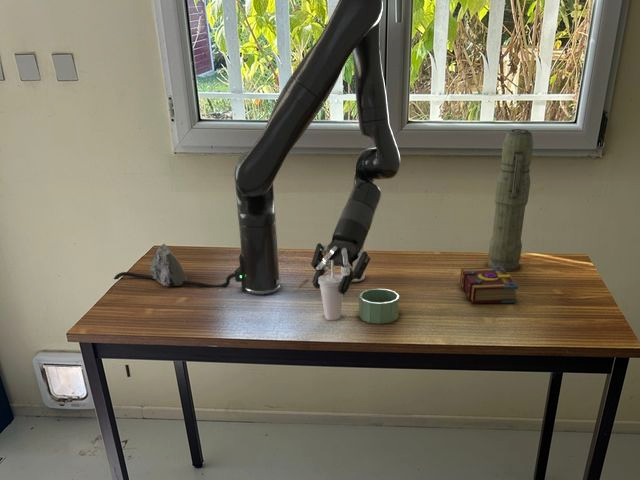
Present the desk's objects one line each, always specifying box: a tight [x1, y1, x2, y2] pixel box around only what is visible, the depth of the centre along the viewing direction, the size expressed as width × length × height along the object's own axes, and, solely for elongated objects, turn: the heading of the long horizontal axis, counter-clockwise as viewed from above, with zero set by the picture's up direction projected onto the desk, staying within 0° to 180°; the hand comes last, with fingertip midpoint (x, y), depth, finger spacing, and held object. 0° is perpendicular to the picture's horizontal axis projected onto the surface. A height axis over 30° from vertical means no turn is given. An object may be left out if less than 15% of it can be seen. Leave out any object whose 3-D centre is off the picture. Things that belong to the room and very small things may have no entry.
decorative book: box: [459, 266, 519, 304], centre depth 179 cm, size 11×16×5 cm
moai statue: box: [487, 128, 534, 272], centre depth 188 cm, size 9×12×35 cm
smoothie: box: [318, 260, 344, 321], centre depth 164 cm, size 6×6×14 cm
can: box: [340, 241, 366, 283], centre depth 186 cm, size 6×6×12 cm
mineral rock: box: [149, 243, 188, 288], centre depth 186 cm, size 13×11×10 cm
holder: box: [358, 288, 400, 325], centre depth 167 cm, size 9×9×5 cm
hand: (328, 289), depth 162 cm, fingers closed on smoothie, 6 cm apart
